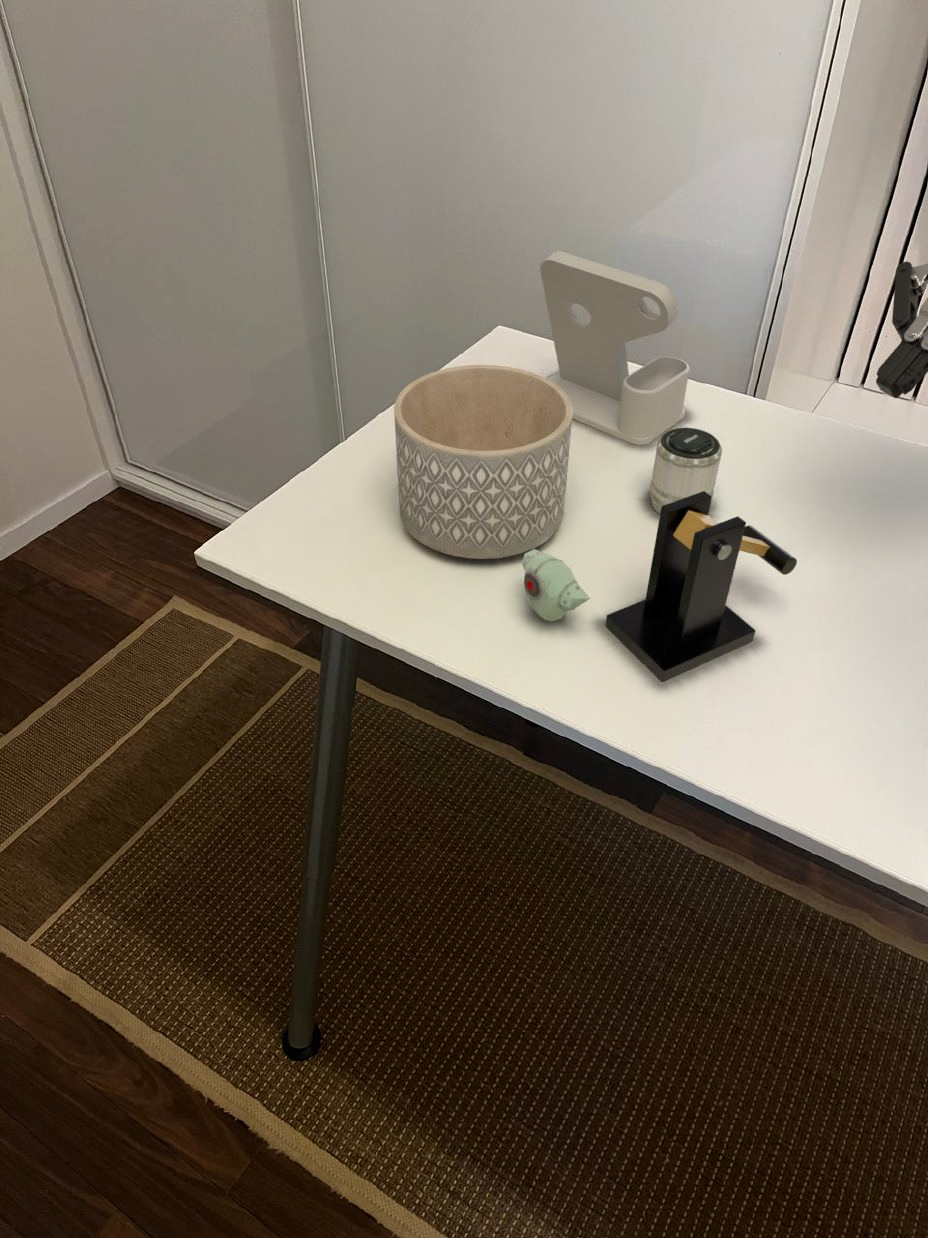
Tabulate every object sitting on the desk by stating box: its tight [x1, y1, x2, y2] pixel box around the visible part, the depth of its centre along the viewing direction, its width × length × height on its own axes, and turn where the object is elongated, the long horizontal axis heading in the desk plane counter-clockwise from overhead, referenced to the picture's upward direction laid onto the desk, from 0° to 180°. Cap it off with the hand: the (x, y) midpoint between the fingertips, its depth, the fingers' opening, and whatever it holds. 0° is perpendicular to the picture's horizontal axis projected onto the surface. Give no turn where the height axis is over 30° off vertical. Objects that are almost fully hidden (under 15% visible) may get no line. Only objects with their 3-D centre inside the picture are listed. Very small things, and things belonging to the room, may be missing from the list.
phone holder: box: [539, 250, 690, 446], centre depth 106 cm, size 17×10×18 cm, turn 49°
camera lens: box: [650, 427, 723, 515], centre depth 94 cm, size 6×6×8 cm
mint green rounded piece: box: [521, 548, 591, 622], centre depth 81 cm, size 8×4×7 cm, turn 33°
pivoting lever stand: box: [605, 491, 756, 683], centre depth 78 cm, size 10×8×13 cm
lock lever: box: [673, 510, 798, 576], centre depth 78 cm, size 12×6×2 cm, turn 120°
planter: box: [393, 364, 573, 560], centre depth 91 cm, size 16×16×13 cm
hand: (885, 390), depth 76 cm, fingers closed
